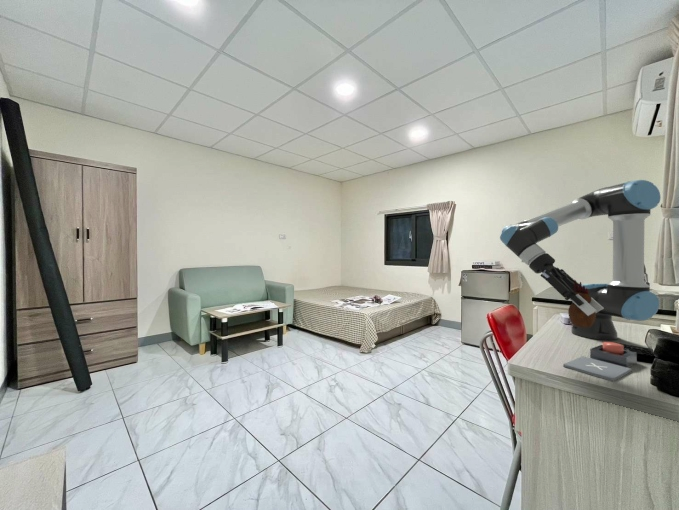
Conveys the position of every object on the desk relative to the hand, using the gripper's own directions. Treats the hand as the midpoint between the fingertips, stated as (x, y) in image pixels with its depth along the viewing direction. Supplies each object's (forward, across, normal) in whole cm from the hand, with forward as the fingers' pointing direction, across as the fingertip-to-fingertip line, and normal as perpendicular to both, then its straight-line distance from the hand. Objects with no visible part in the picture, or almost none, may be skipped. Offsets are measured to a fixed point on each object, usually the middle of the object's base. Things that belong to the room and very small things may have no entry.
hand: (596, 311), depth 87 cm
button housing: (+13, -13, -12) cm, 23 cm away
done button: (+12, -13, -10) cm, 20 cm away
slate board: (+13, 0, -13) cm, 18 cm away
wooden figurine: (+1, 0, -7) cm, 7 cm away
